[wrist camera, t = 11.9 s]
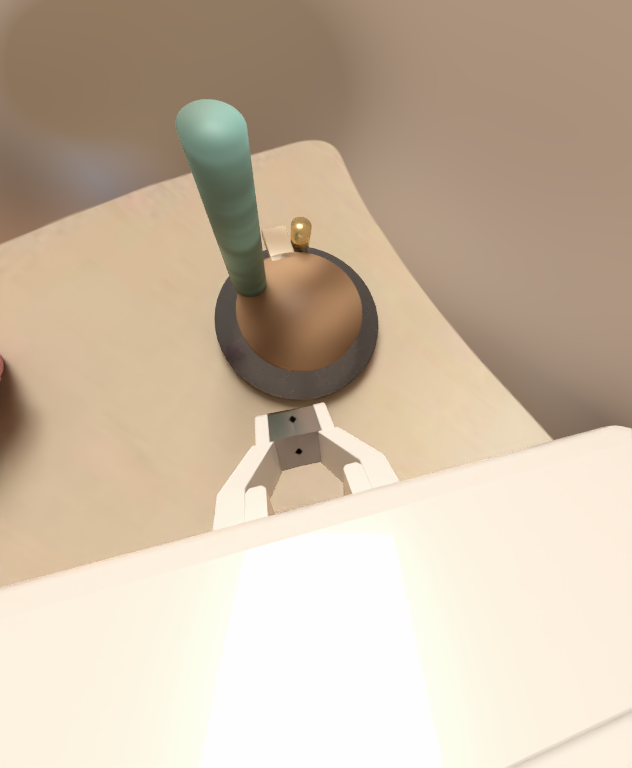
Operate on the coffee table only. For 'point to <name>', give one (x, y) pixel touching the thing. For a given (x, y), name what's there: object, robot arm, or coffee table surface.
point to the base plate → (291, 381)
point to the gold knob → (300, 234)
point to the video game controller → (1, 366)
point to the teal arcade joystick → (245, 256)
